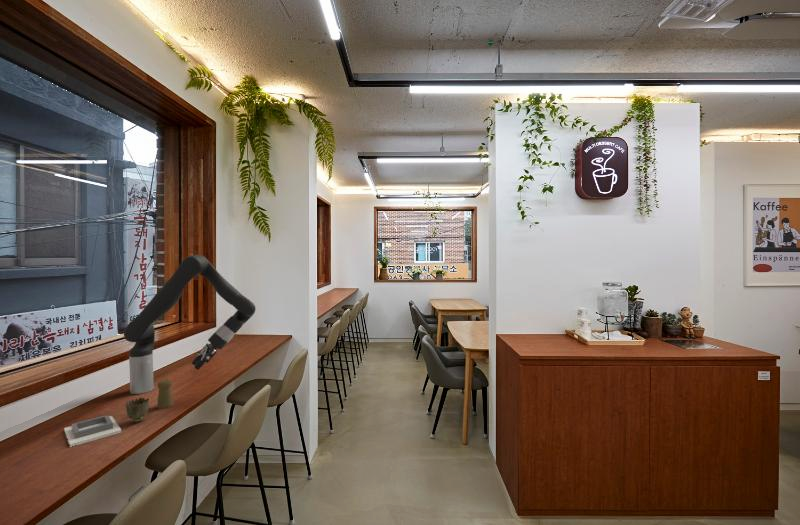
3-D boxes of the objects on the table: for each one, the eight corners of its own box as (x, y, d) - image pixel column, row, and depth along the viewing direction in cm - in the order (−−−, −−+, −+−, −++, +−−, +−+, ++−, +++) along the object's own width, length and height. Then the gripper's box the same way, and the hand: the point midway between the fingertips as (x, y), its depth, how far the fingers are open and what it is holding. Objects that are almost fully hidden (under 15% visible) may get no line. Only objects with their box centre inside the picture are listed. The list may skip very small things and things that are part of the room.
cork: (165, 409, 156) (164, 383, 156) (153, 408, 157) (152, 382, 157) (177, 403, 162) (176, 378, 162) (165, 402, 163) (164, 377, 163)
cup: (154, 418, 147) (153, 398, 147) (135, 426, 140) (134, 405, 140) (140, 416, 149) (139, 396, 149) (121, 424, 143) (120, 403, 142)
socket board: (64, 430, 138) (64, 422, 138) (111, 418, 148) (111, 410, 148) (70, 447, 125) (69, 438, 125) (121, 432, 136) (121, 424, 136)
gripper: (212, 329, 177) (185, 358, 170) (218, 334, 165) (189, 365, 159) (224, 339, 180) (198, 367, 173) (231, 344, 169) (204, 375, 162)
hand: (194, 366), depth 166 cm, fingers open, 8 cm apart
